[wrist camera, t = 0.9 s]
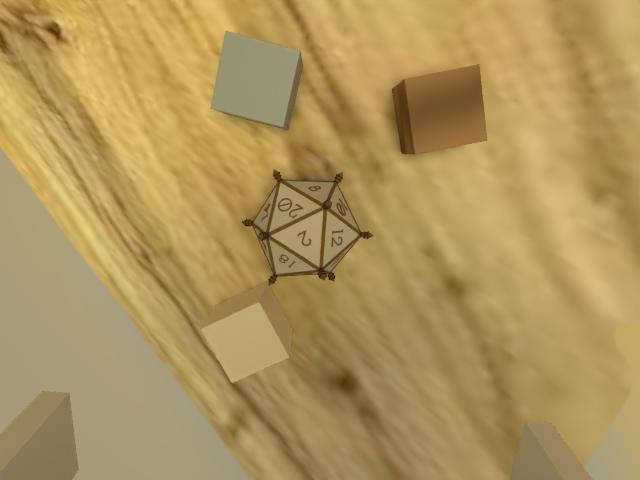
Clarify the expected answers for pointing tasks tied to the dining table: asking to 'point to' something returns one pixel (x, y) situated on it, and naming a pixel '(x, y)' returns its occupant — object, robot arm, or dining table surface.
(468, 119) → the walnut block
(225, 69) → the slate-blue block
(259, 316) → the cream block
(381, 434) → the dining table surface
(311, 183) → the game die
